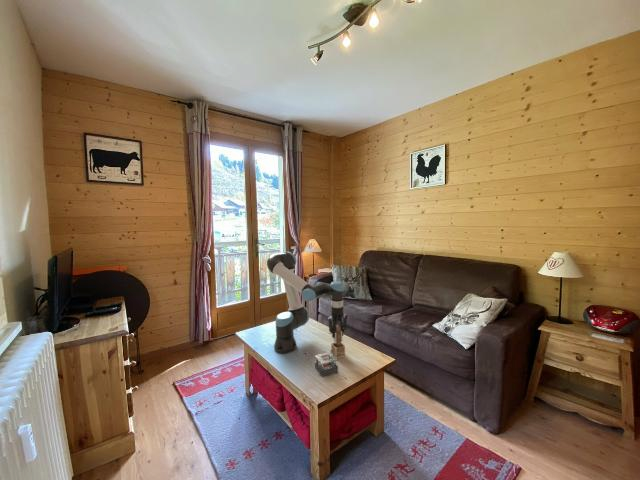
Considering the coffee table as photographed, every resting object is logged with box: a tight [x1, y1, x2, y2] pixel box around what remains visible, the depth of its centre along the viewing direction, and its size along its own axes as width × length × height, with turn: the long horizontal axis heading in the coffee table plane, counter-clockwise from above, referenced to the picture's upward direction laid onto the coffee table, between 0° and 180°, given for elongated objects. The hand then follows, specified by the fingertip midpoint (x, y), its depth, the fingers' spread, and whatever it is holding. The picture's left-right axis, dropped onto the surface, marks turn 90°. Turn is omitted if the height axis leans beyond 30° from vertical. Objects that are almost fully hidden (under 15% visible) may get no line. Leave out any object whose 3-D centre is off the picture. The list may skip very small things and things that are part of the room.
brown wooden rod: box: [335, 324, 342, 348], centre depth 173 cm, size 4×4×18 cm
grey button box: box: [314, 351, 339, 378], centre depth 157 cm, size 10×10×8 cm
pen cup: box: [330, 342, 346, 359], centre depth 174 cm, size 7×7×7 cm
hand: (337, 341), depth 173 cm, fingers closed on brown wooden rod, 3 cm apart
